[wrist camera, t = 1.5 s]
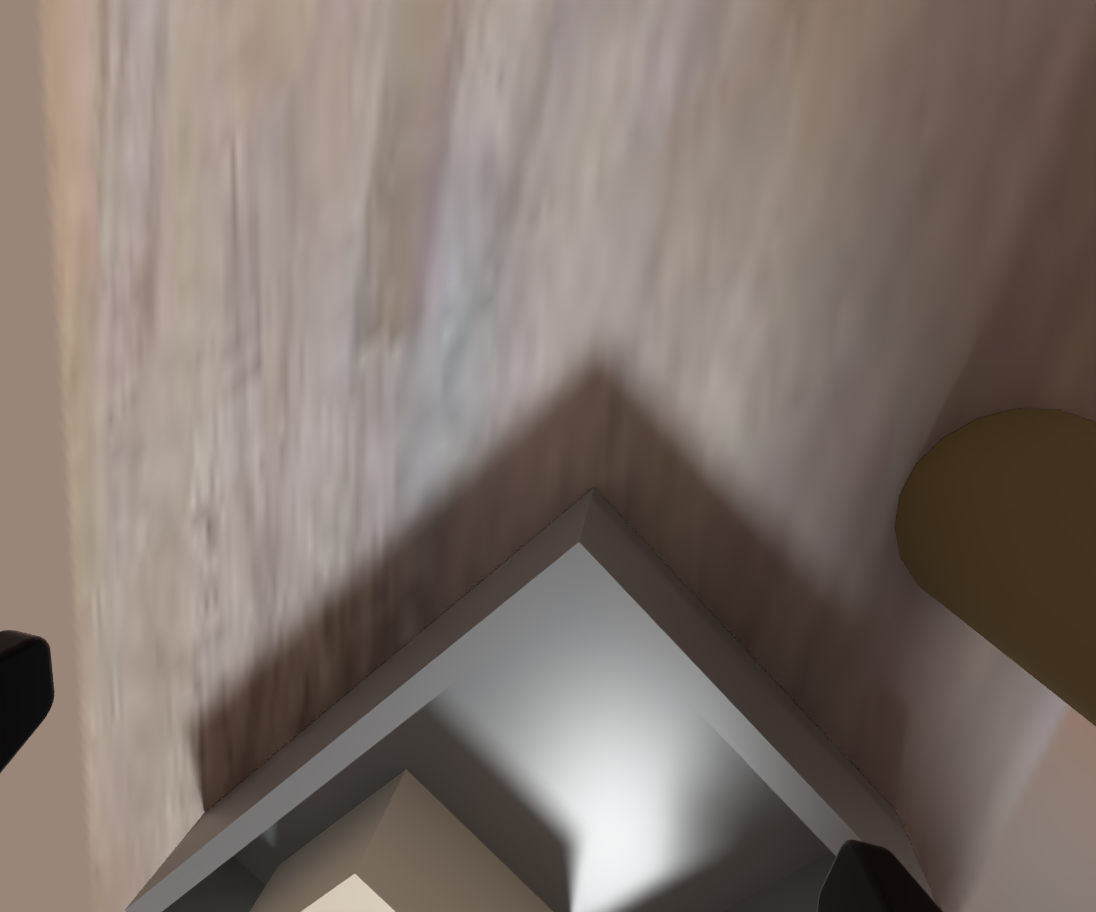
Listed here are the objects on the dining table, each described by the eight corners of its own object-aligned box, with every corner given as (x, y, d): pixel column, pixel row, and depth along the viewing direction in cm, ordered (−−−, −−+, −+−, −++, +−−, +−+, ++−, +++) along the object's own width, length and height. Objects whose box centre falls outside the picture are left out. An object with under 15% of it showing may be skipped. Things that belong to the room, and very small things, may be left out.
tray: (896, 811, 21) (949, 933, 17) (460, 1049, 27) (428, 1178, 23) (594, 487, 20) (579, 541, 16) (203, 813, 26) (125, 909, 22)
